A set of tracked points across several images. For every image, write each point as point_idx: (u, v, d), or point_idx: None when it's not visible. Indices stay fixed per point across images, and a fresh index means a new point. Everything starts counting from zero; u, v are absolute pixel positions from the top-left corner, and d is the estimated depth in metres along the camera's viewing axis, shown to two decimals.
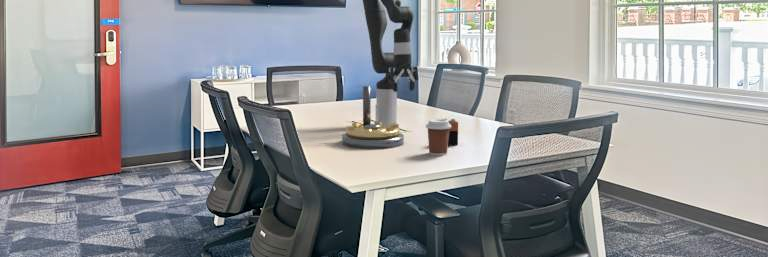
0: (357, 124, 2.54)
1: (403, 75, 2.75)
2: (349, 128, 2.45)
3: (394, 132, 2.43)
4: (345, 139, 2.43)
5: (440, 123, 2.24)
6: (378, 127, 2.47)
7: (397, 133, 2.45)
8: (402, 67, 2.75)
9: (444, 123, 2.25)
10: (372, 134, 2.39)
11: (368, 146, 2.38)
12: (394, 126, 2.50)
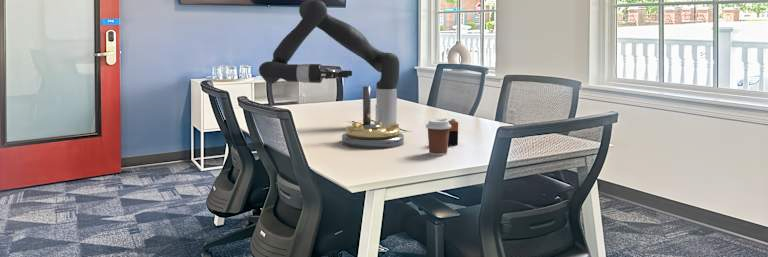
0: (357, 124, 2.54)
1: None
2: (349, 128, 2.45)
3: (394, 132, 2.43)
4: (345, 139, 2.43)
5: (440, 123, 2.24)
6: (378, 127, 2.47)
7: (397, 133, 2.45)
8: None
9: (444, 123, 2.25)
10: (372, 134, 2.39)
11: (368, 146, 2.38)
12: (394, 126, 2.50)
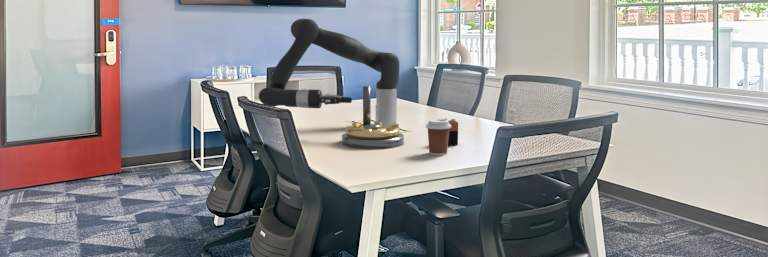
0: (357, 124, 2.54)
1: None
2: (349, 128, 2.45)
3: (394, 132, 2.43)
4: (345, 139, 2.43)
5: (440, 123, 2.24)
6: (378, 127, 2.47)
7: (397, 133, 2.45)
8: None
9: (444, 123, 2.25)
10: (372, 134, 2.39)
11: (368, 146, 2.38)
12: (394, 126, 2.50)
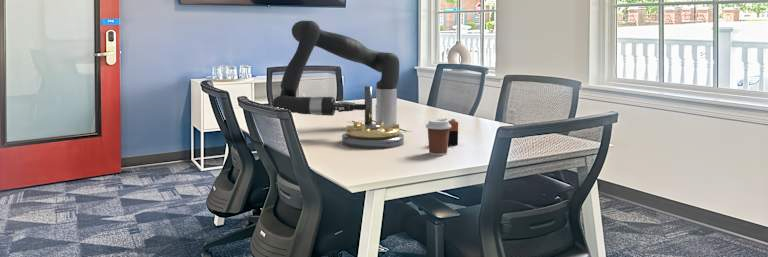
0: (358, 124, 2.54)
1: None
2: (348, 128, 2.45)
3: (393, 132, 2.42)
4: (345, 139, 2.43)
5: (440, 123, 2.24)
6: (378, 127, 2.47)
7: (396, 133, 2.44)
8: None
9: (444, 123, 2.25)
10: (370, 134, 2.39)
11: (368, 146, 2.38)
12: (394, 126, 2.50)
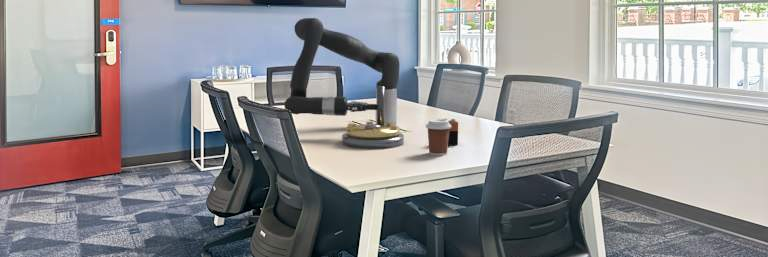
0: (368, 123, 2.56)
1: None
2: (348, 125, 2.51)
3: (379, 134, 2.39)
4: (345, 139, 2.43)
5: (440, 123, 2.24)
6: (374, 127, 2.46)
7: (385, 135, 2.40)
8: None
9: (444, 123, 2.25)
10: (355, 133, 2.41)
11: (368, 146, 2.38)
12: (392, 128, 2.45)
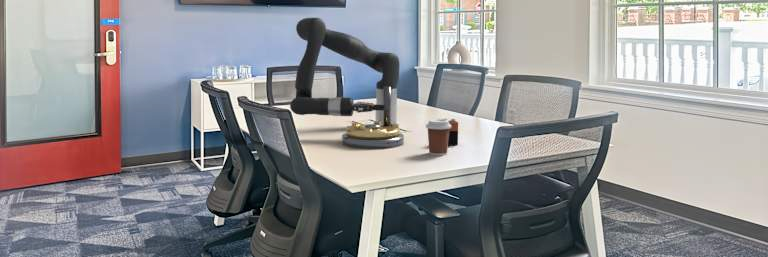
0: (375, 123, 2.56)
1: None
2: (352, 124, 2.54)
3: (369, 134, 2.39)
4: (345, 139, 2.43)
5: (440, 123, 2.24)
6: (371, 127, 2.46)
7: (375, 136, 2.39)
8: None
9: (444, 123, 2.25)
10: (349, 132, 2.44)
11: (368, 146, 2.38)
12: (387, 129, 2.42)
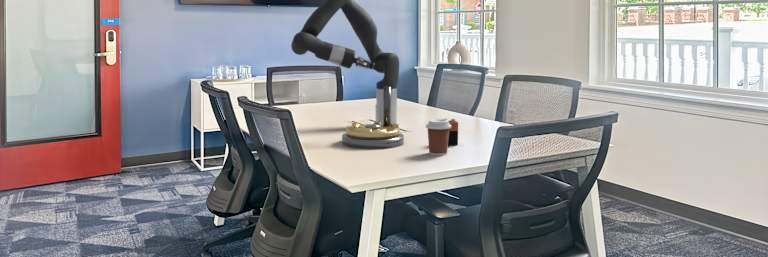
0: (375, 123, 2.56)
1: (360, 65, 2.54)
2: (352, 124, 2.54)
3: (369, 134, 2.39)
4: (345, 139, 2.43)
5: (440, 123, 2.24)
6: (371, 127, 2.46)
7: (375, 136, 2.39)
8: None
9: (444, 123, 2.25)
10: (349, 132, 2.44)
11: (368, 146, 2.38)
12: (387, 129, 2.42)
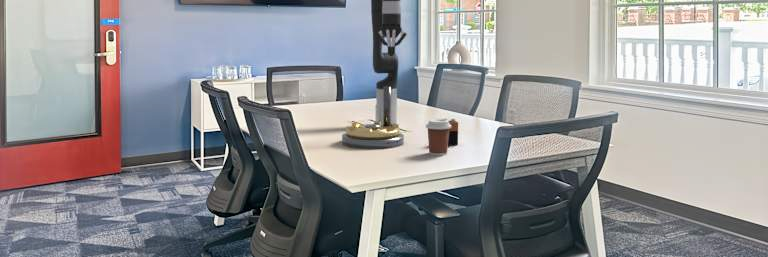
0: (375, 123, 2.56)
1: None
2: (352, 124, 2.54)
3: (369, 134, 2.39)
4: (345, 139, 2.43)
5: (440, 123, 2.24)
6: (371, 127, 2.46)
7: (375, 136, 2.39)
8: (388, 27, 2.58)
9: (444, 123, 2.25)
10: (349, 132, 2.44)
11: (368, 146, 2.38)
12: (387, 129, 2.42)
